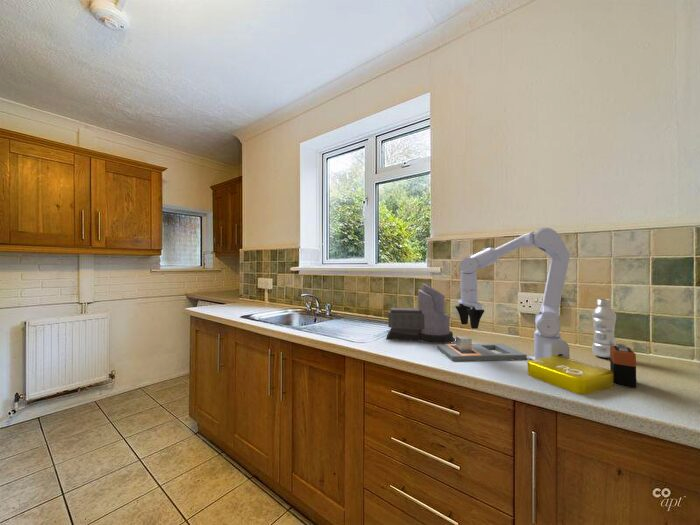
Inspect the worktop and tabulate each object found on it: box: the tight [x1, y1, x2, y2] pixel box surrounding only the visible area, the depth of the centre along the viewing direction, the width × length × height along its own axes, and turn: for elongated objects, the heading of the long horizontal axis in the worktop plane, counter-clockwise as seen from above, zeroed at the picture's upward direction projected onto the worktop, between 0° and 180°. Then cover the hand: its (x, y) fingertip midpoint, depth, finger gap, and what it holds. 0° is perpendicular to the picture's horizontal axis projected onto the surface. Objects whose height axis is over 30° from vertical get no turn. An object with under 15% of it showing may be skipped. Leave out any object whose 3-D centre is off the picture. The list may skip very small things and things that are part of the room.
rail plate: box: [436, 343, 528, 362], centre depth 102 cm, size 14×26×2 cm, turn 93°
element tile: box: [527, 356, 615, 396], centre depth 78 cm, size 15×15×5 cm
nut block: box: [455, 335, 473, 354], centre depth 102 cm, size 4×4×6 cm
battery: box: [609, 343, 637, 389], centre depth 76 cm, size 4×7×10 cm, turn 143°
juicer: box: [385, 283, 456, 344], centre depth 125 cm, size 30×16×24 cm, turn 79°
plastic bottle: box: [591, 298, 617, 359], centre depth 97 cm, size 6×7×20 cm
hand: (469, 326), depth 105 cm, fingers open, 7 cm apart
